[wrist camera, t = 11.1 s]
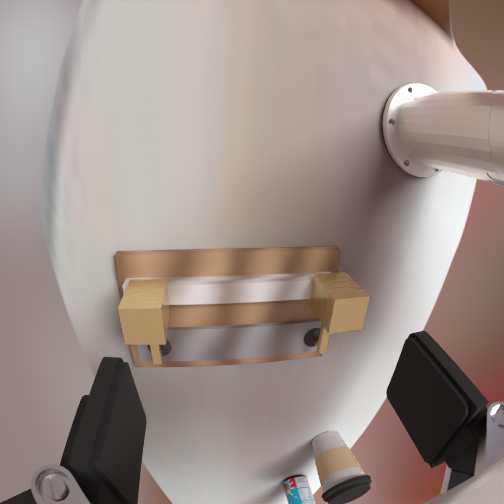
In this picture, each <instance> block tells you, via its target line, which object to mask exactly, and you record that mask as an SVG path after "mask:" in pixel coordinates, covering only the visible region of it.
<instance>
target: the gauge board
mask: <svg viewBox="0 0 504 504" xmlns="http://www.w3.org/2000/svg"><path fill="white" fill-rule="evenodd" d="M339 257H340V249H339V248H338V247H287V248H239V249H193V250H151V251H117V252H116V254H115V261H116V269H117V276H118V283H119V289H120V295H121V300H122V297H123V295H124V293H125V290H126V288H127V286H128V283H129V281H130V280H135V279H167V288H168V299H169V309H170V314H169V322H168V330H167V339H166V345H160V347H162V349H163V352H162V364H153V359H152V354H151V348H150V345H131V344H130V347H131V352H132V356H133V360H134V364H135V367H189V366H217V365H234V364H249V363H261V362H272V361H282V360H291V359H300V358H308V357H315V356H322V353H318V351H317V348H316V346H315V344H314V343H313V339H314V338H315V337H318V338H319V335H320V329H321V324H322V323H321V322H320V320H319V319H318V317H317V316H316V314H315V312H314V311H313V309H312V308H311V306H310V299H311V292H312V285H313V277H314V274H323V273H337V271H338V264H339Z"/></svg>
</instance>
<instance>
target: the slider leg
mask: <svg viewBox="0 0 504 504" xmlns="http://www.w3.org/2000/svg"><path fill="white" fill-rule="evenodd" d="M118 312H119V317H120V322H121V327H122V332H123V337H124V341H125V344H131V345H150V348H151V354H152V359H153V364H162V352H163V349H162V347H160V345H166V339H167V330H168V322H169V314H170V309H169V299H168V288H167V279H135V280H130V281H129V283H128V286H127V288H126V290H125V293H124V295H123V297H122V300H121V302H120V304H119V307H118Z"/></svg>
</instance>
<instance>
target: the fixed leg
mask: <svg viewBox="0 0 504 504" xmlns="http://www.w3.org/2000/svg"><path fill="white" fill-rule="evenodd" d="M369 299H370V296H369V295H368V294H367V293H366V292H365V291H364V290H363V289H362V288H361V287H360V286H359V285H358V284H357V283H356V282H355V281H354V280H353V279H352V278H351V277H350V276H349V275H348V274H347V273H346V272H342V273H323V274H314V277H313V285H312V292H311V299H310V306H311V308H312V309H313V311H314V312H315V314H316V316H317V317H318V319H319V320H320V322H321V323H322V324H321V329H320V335H319V338H318V337H315V338H314V339H313V343H314V344H315V346H316V348H317V351H318V353H326V351H327V346H328V341H329V336H330V334H332V333H340V332H348V331H355V330H362V329H363V325H364V321H365V316H366V312H367V308H368V304H369Z"/></svg>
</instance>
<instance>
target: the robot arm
mask: <svg viewBox="0 0 504 504" xmlns="http://www.w3.org/2000/svg"><path fill="white" fill-rule="evenodd" d="M383 134H384V138H385V143H386V145H387V148H388V151H389V153H390V155H391V156H392V158H393V160H394V161H395V162H396V164H397V165H398V166H399V167H400V168H401V169H403V170H404V171H405V172H407V173H409V174H411V175H414V176H417V177H431V176H434V175H436V174H438V173H439V172H440V171H442V170H445V171H449V172H453V173H457V174H461V175H465V176H469V177H473V178H477V179H481V180H484V181H488V182H491V183H495V184H499V185H502V186H504V90H479V91H455V92H440V93H438V92H437V91H435V90H434V89H433V88H431V87H429V86H427V85H425V84H421V83H410V84H405V85H403V86H401V87H399V88H398V89H396V90H395V91H394V92H393V93H392V95H391V96H390V97H389V99H388V101H387V103H386V106H385V110H384V114H383ZM387 398H388V400H389V402H390V403H391V405H392V407H393V408H394V410H395V412H396V413H397V415H398V416H399V418H400V420H401V422H402V423H403V425H404V427H405V428H406V430H407V432H408V434H409V435H410V437H411V439H412V440H413V442H414V444H415V445H416V447H417V449H418V451H419V453H420V454H421V456H422V458H423V459H424V461H425V462H426V463H429V464H430V466H431V468H433V467H435V466H437V465H439V464H442V463H443V462H444V461H445V462H446V464H447V467H446V472H445V476H444V481H443V485H442V490H441V493H440V495H439V496H437V497H436V498H434V499H431V500H429V501H427V502H425V503H424V504H504V402H495V403H493V404H491V405H490V407H489V408H488V409H487V408H486V405H487V404H488V401H487V399H486V398H485V397H484V396H483V395H482V394H481V392H480V391H479V390H478V389H477V388H476V387H475V385H474V384H473V383H472V382H471V381H470V379H469V378H468V377H467V376H466V375H465V374H464V372H462V370H461V369H460V368H459V367H458V366H457V365H456V363H455V362H454V361H453V360H452V359H451V358H450V357H449V356H448V354H447V353H446V352H445V351H444V350H443V349H442V348H441V347H440V346H439V345H438V343H437V342H435V340H434V339H433V338H432V337H431V336H430V335H429V334H428V333H427V332H426V331H421V332H416V333H412V334H410V335H409V337H408V338H407V339H406V340H405V343H404V346H403V349H402V352H401V354H400V357H399V360H398V363H397V365H396V368H395V371H394V373H393V376H392V378H391V381H390V383H389V386H388V388H387ZM145 430H146V415H145V412H144V410H143V407H142V404H141V401H140V398H139V395H138V392H137V389H136V386H135V383H134V380H133V377H132V374H131V371H130V367H129V364H128V363H127V362H123V360H122V358H115V357H104V358H103V359H102V361H101V364H100V366H99V369H98V372H97V374H96V377H95V380H94V383H93V385H92V388H91V391H90V394H89V395H84V396H83V397H82V399H81V401H80V404H79V407H78V409H77V412H76V415H75V418H74V421H73V424H72V427H71V430H70V433H69V436H68V439H67V442H66V446H65V449H64V452H63V456H62V459H61V463H60V466H59V465H55V464H50V465H45V466H42V467H40V468H39V469H37V471H36V472H35V473H34V474H33V476H32V478H31V489H29V490H27V491H25V492H23V493H21V494H19V495H16V496H14V497H12V498H10V499H8V500H6V501H3V502H1V503H0V504H137V503H138V491H139V481H140V470H141V462H142V453H143V445H144V437H145Z"/></svg>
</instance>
